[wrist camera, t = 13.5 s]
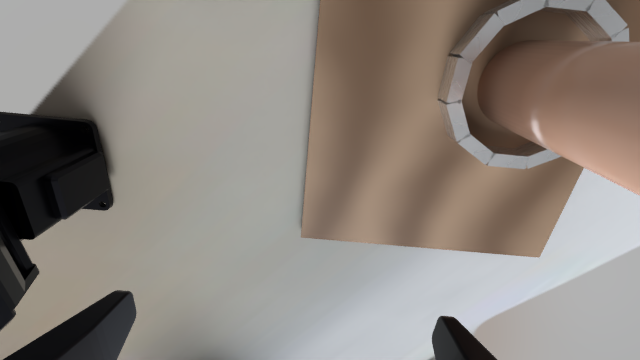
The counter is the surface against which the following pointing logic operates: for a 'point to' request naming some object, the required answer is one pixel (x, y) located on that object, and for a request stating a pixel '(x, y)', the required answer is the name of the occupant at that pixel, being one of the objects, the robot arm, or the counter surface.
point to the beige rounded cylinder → (571, 101)
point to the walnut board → (423, 132)
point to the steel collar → (577, 3)
